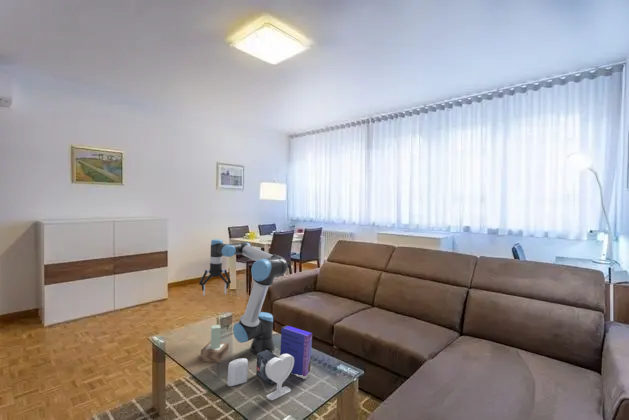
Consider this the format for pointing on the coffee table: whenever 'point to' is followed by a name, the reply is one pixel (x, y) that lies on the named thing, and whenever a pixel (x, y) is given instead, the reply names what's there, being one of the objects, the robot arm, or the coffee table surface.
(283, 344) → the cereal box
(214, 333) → the sage block
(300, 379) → the coffee table surface
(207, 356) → the walnut riser block
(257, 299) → the robot arm
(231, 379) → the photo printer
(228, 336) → the coffee table surface
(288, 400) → the coffee table surface
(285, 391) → the heart sculpture
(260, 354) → the small box
